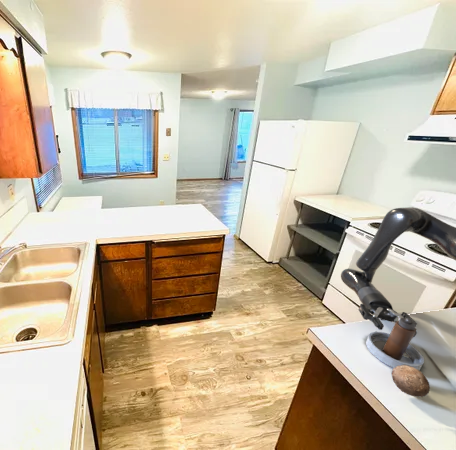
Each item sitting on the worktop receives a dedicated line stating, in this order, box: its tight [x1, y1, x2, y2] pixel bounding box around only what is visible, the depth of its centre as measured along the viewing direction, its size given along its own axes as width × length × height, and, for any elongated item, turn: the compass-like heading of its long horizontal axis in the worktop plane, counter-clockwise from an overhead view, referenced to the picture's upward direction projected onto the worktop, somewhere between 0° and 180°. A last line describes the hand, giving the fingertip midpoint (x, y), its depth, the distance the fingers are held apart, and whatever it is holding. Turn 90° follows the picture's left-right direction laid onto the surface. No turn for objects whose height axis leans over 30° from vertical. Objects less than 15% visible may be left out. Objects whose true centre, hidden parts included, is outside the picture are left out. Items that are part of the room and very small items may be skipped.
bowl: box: [365, 331, 425, 371], centre depth 79 cm, size 13×13×4 cm
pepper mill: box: [382, 318, 417, 360], centre depth 76 cm, size 5×5×15 cm
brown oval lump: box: [391, 365, 431, 398], centre depth 68 cm, size 8×8×6 cm
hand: (397, 331), depth 78 cm, fingers open, 8 cm apart
